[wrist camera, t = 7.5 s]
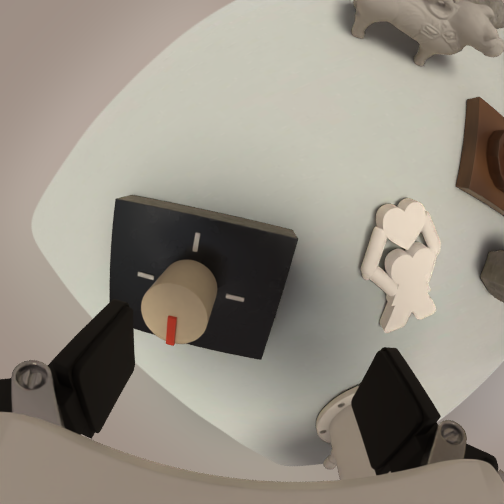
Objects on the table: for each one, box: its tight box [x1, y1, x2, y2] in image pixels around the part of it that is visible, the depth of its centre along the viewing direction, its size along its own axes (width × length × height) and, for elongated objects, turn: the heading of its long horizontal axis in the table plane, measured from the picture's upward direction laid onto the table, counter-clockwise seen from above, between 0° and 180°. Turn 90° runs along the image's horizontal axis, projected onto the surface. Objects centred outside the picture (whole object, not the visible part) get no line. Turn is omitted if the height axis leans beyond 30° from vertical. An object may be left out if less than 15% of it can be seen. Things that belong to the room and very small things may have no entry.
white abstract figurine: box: [361, 198, 441, 333], centre depth 22 cm, size 9×12×2 cm
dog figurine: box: [351, 0, 504, 66], centre depth 11 cm, size 5×13×11 cm, turn 80°
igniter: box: [456, 97, 504, 215], centre depth 17 cm, size 10×10×4 cm
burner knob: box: [141, 260, 217, 346], centre depth 18 cm, size 4×4×5 cm
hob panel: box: [110, 195, 298, 360], centre depth 22 cm, size 14×11×3 cm
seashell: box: [453, 0, 504, 29], centre depth 10 cm, size 6×14×8 cm, turn 116°
